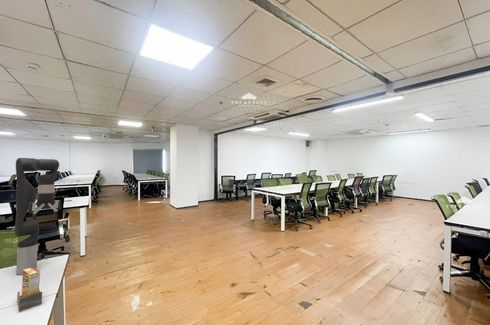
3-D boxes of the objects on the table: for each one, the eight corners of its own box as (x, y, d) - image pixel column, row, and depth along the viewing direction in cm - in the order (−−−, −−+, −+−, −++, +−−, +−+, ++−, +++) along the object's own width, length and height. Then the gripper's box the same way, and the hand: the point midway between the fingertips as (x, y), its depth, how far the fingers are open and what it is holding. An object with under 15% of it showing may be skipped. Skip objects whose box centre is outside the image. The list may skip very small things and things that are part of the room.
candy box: (20, 300, 107) (21, 270, 107) (31, 295, 111) (33, 266, 111) (27, 305, 103) (29, 274, 103) (39, 300, 107) (40, 270, 107)
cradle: (17, 298, 110) (17, 287, 110) (38, 292, 116) (38, 281, 116) (19, 311, 100) (19, 299, 100) (41, 304, 106) (42, 292, 106)
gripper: (60, 190, 134) (59, 215, 134) (28, 192, 123) (27, 219, 123) (62, 191, 129) (61, 218, 129) (30, 193, 118) (28, 222, 118)
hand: (45, 218), depth 126 cm, fingers open, 8 cm apart
